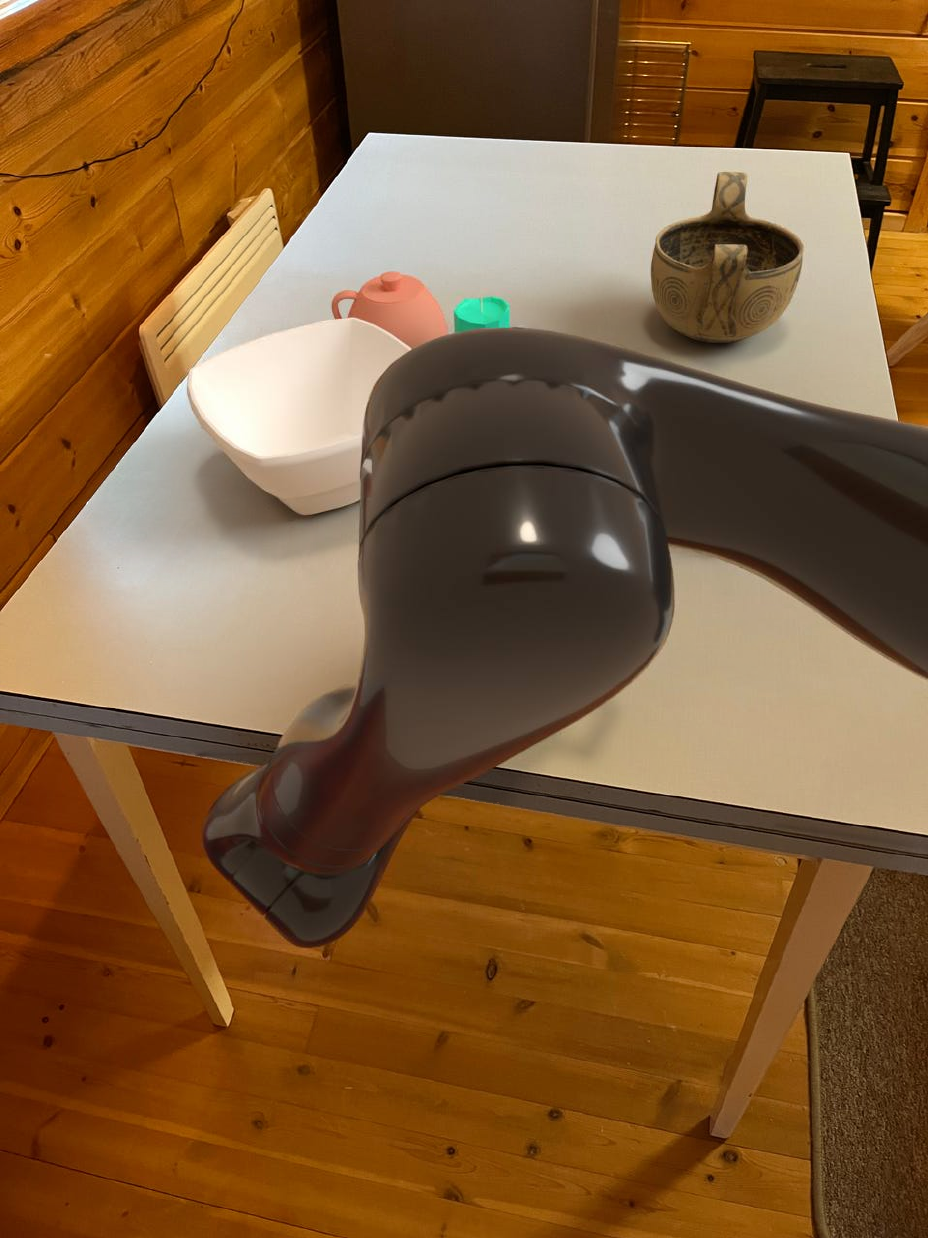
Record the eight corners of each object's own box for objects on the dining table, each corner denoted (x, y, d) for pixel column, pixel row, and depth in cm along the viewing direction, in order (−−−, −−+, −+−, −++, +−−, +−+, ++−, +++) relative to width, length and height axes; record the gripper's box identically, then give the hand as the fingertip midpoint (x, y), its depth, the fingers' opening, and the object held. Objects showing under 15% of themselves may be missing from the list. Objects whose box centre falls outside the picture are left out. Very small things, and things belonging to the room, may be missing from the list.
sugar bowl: (448, 381, 108) (443, 298, 101) (328, 385, 109) (315, 302, 101) (450, 329, 117) (445, 249, 109) (339, 332, 117) (327, 253, 110)
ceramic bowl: (650, 284, 123) (663, 165, 112) (783, 291, 120) (809, 170, 109) (637, 372, 108) (651, 244, 97) (788, 383, 105) (820, 253, 94)
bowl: (476, 498, 93) (472, 397, 84) (270, 582, 85) (244, 480, 77) (375, 398, 106) (363, 302, 98) (190, 463, 99) (160, 365, 90)
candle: (518, 385, 107) (518, 286, 98) (498, 413, 103) (496, 312, 95) (470, 376, 109) (466, 277, 100) (449, 402, 105) (443, 302, 96)
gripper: (559, 688, 56) (694, 538, 65) (381, 593, 62) (526, 469, 72) (556, 762, 61) (681, 614, 70) (392, 668, 68) (526, 543, 77)
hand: (602, 542), depth 71 cm, fingers closed on beverage cup, 5 cm apart
